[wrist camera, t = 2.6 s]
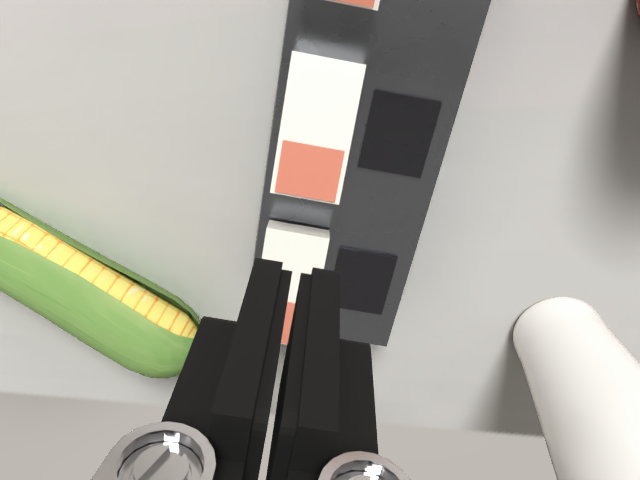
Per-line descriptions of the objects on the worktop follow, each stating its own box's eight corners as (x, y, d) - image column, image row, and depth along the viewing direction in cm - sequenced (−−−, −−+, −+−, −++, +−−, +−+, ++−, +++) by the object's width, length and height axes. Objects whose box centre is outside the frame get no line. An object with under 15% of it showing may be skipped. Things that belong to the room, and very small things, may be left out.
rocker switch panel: (513, -161, 22) (551, -186, 18) (381, 305, 33) (386, 352, 29) (322, -202, 22) (317, -237, 18) (254, 283, 33) (242, 328, 29)
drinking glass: (614, 354, 35) (781, 601, 21) (509, 378, 36) (605, 625, 23) (603, 269, 32) (789, 495, 18) (489, 299, 33) (586, 529, 20)
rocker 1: (363, 66, 23) (366, 64, 21) (337, 197, 24) (339, 205, 23) (293, 52, 22) (291, 50, 21) (272, 186, 24) (269, 193, 23)
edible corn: (171, 408, 33) (202, 380, 30) (-155, 226, 28) (-157, 173, 25) (204, 342, 36) (234, 312, 34) (-79, 174, 32) (-73, 122, 29)
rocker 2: (329, 230, 26) (329, 239, 25) (308, 334, 28) (308, 349, 26) (269, 219, 26) (266, 228, 25) (252, 325, 28) (248, 339, 26)
